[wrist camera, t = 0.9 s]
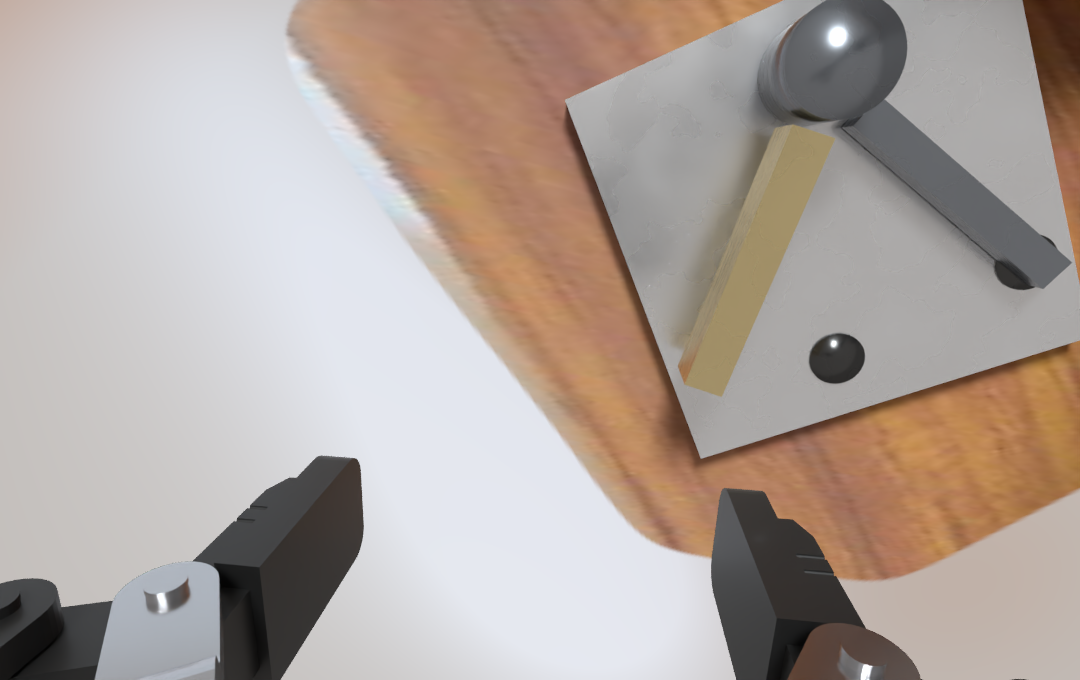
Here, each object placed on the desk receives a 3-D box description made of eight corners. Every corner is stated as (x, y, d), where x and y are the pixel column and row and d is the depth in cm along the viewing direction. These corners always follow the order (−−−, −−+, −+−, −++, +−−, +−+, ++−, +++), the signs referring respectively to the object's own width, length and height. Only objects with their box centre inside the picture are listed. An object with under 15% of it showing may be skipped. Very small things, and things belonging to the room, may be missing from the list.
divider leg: (766, 129, 25) (792, 124, 22) (803, 141, 25) (835, 138, 22) (674, 357, 28) (684, 384, 25) (707, 368, 28) (721, 396, 25)
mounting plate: (986, -89, 23) (1084, -154, 19) (1073, 330, 27) (1172, 366, 23) (566, 102, 27) (557, 89, 22) (698, 449, 31) (715, 502, 26)
